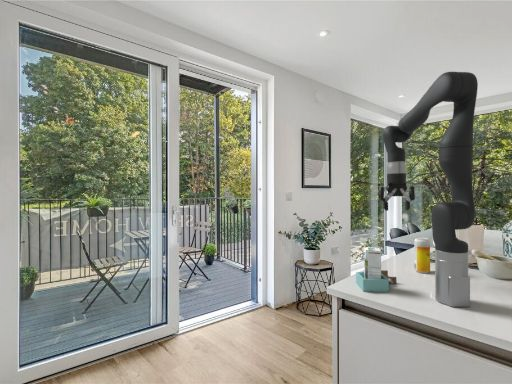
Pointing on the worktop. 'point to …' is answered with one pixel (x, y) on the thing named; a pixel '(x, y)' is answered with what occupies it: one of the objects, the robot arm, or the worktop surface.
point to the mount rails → (391, 279)
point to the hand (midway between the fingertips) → (396, 210)
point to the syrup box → (372, 263)
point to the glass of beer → (422, 255)
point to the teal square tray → (372, 283)
